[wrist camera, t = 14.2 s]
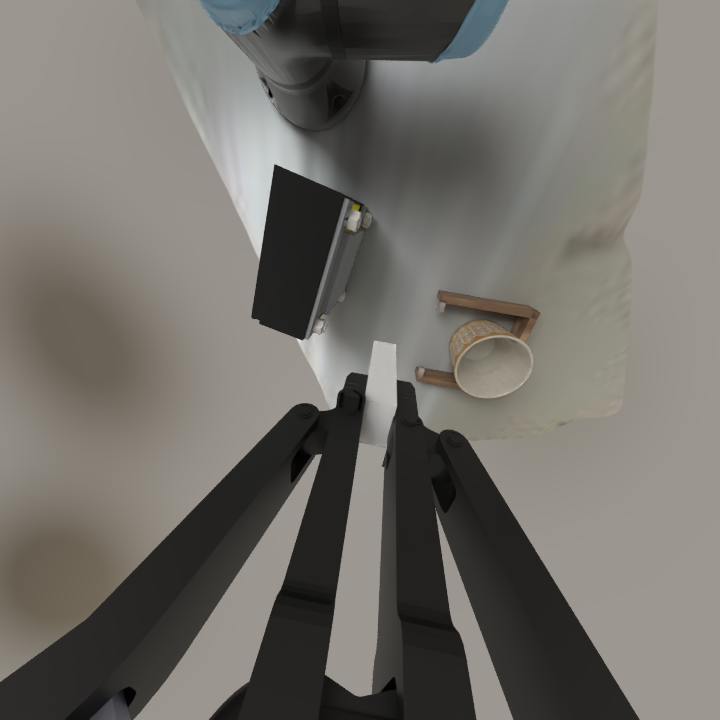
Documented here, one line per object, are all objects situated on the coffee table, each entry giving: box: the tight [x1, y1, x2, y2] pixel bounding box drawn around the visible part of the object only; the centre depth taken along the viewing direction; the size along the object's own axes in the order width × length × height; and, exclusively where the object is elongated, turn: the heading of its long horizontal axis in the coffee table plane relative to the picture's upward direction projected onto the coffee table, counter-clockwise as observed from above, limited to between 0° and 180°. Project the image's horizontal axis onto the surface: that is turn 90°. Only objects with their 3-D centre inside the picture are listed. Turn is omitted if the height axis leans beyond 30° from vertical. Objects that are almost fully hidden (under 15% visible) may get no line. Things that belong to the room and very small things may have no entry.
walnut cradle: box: [415, 290, 540, 389], centre depth 51 cm, size 18×17×4 cm
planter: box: [449, 320, 534, 399], centre depth 48 cm, size 13×13×10 cm
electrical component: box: [251, 165, 372, 340], centre depth 38 cm, size 18×10×20 cm, turn 160°
